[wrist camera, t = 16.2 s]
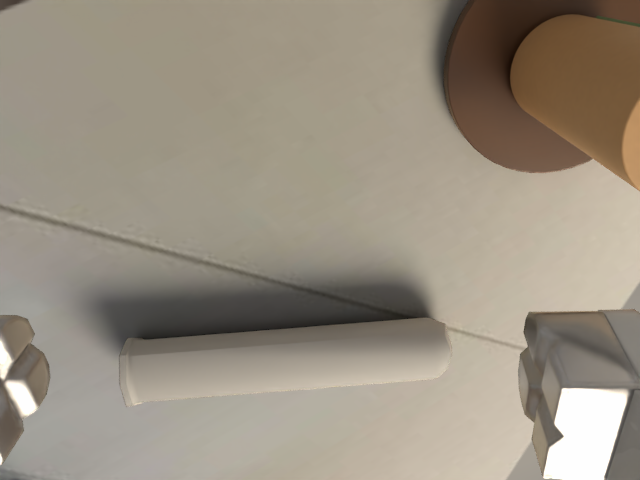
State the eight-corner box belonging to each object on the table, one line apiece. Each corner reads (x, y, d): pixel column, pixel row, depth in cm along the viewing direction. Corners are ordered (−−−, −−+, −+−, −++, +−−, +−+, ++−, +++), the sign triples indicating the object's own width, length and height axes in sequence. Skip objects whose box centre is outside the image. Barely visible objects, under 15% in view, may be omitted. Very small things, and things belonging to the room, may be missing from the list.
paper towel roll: (489, 90, 36) (589, 163, 23) (555, -11, 33) (709, 9, 20) (568, 137, 37) (703, 228, 24) (637, 43, 34) (828, 92, 22)
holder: (433, -31, 34) (438, -31, 32) (671, -80, 33) (686, -82, 32) (452, 183, 40) (457, 191, 39) (653, 147, 39) (665, 154, 38)
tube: (459, 322, 41) (114, 349, 41) (462, 392, 41) (123, 419, 41) (442, 303, 46) (137, 328, 46) (445, 366, 47) (145, 390, 47)
